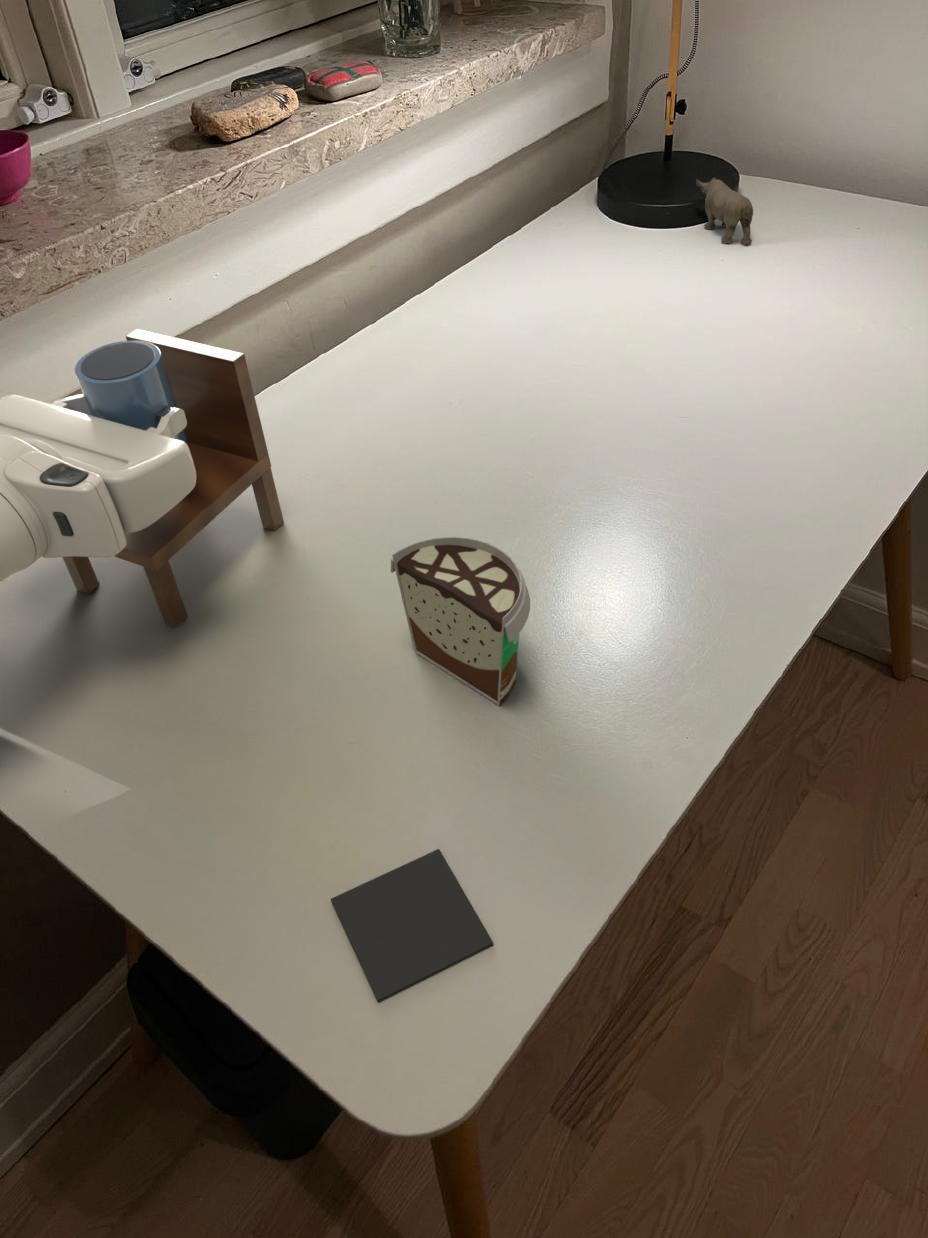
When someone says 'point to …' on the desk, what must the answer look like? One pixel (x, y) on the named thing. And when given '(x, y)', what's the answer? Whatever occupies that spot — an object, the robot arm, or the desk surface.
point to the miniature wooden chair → (200, 463)
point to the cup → (126, 384)
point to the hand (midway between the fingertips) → (141, 404)
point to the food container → (464, 610)
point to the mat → (410, 924)
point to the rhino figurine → (727, 209)
